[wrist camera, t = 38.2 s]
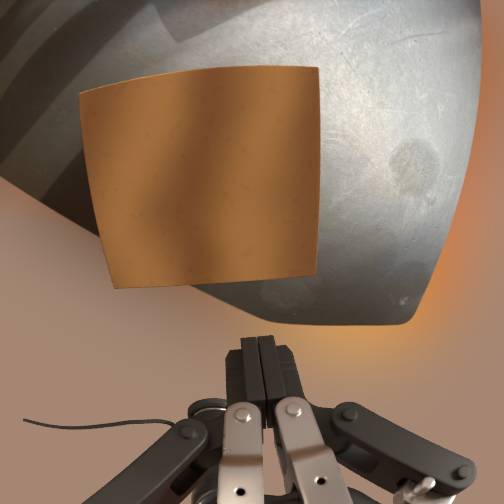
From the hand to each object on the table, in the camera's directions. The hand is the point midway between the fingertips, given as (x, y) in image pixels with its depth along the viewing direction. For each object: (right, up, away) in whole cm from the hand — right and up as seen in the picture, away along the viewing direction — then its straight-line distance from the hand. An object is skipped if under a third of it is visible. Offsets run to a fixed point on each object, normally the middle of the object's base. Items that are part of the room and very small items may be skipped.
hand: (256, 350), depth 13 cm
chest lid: (-4, +10, +9) cm, 14 cm away
